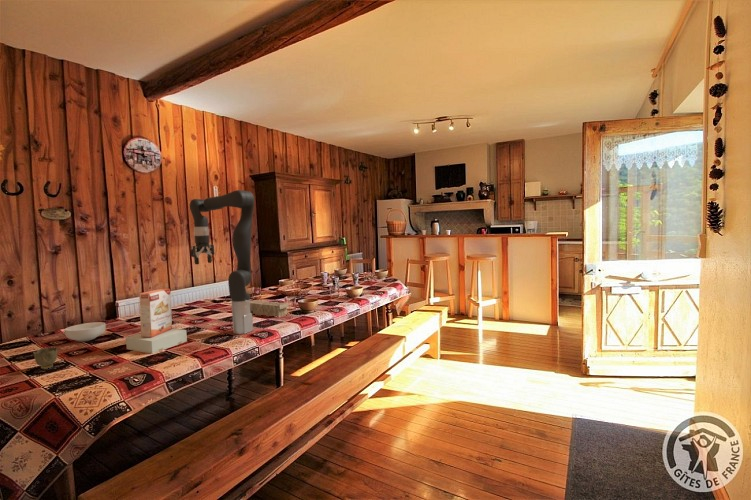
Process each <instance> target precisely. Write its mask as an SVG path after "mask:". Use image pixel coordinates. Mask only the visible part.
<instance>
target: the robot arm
mask: <svg viewBox="0 0 751 500" xmlns="http://www.w3.org/2000/svg"><path fill="white" fill-rule="evenodd" d="M225 207H232V208H238V209H241V210H240V219H239V220H238V222H237V223H236V226H235V228H234V229H233V231H232V248H233V251H234V253H235V257H236V260H237V266H236V270H234V271H232V272H231V273H230V274H229V275H228V278H227V281H228V283H227V284H228V290H229V291H228V292H229V296H230V299H231V313H232V314H231V316H232V331H233V334H235V335H241V334H247V333H250V332H253V331H254V323H253V314H252V313H251V311H250V301H251V298H250V297H251V296H250V294H249V293H248V292H247V290H246V286H248V285H249V284H251V281H252V266H251V258H252V257H251V256H252V255H251V254H252V253H251V252H252V250H251V249H252V248H251V247H252V229H253V228H252V226H253V223H252V222H253V216H254V215H253V214H254V208H255V196H254V194H253V193H252V192H251V191H248V190H241V189H236V190H234V191H230V192H228V193H225V194H223V195H217V196H212V197H207V198H204V199H203V198H201V199H200V198H194V199H191V200H190V202H189V210H190V212H191V213H190V214H191V216H192V218H193V226H194V229H193V233H194V235H193V237H194V244H195V245H190V257H192V258H194V259H193V260H194V264H195V265H199V264H200V258H199V256H200V255H201V254H204V253H205V255H207V257H206V258H207V263H208V264H211V263H212V261H213V259H212V257H213V256H214V255H216V254H215V245H214V244H210V230H209V221H208V220H209V219H208V217H207V216H205V215H202V213H207V212H211V211H216V210H217V211H218V210H221V209H224V208H225Z"/></svg>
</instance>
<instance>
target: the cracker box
mask: <svg viewBox="0 0 751 500" xmlns="http://www.w3.org/2000/svg"><path fill="white" fill-rule="evenodd" d="M171 294H172V293H171V288H157V289H154V290H149V291H144V292H140V293H139V294H138V297H139V314H140V316H139V317H140V319H139V320H140V333H141V337H154V336H156V335H158V334H161V333H163V332H166V331H168V330H171V329H172V328H173V324H172V323H173V322H172V321H173V320H172V295H171Z"/></svg>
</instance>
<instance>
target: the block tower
mask: <svg viewBox="0 0 751 500" xmlns="http://www.w3.org/2000/svg"><path fill="white" fill-rule="evenodd" d="M288 308H289V303H288V302H278V301H271V302H269V301H267V300H266V301H263V300H256V299H254V300H250V311H251V313H252V315H253V314H255V316H261V315H266V316H265V317H269V316H277V317H276V318H278V317H279V316H282V315H284V316H286V315H285V314H287V315H288ZM282 317H283V316H282ZM279 318H280V317H279Z"/></svg>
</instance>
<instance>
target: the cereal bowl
mask: <svg viewBox="0 0 751 500" xmlns="http://www.w3.org/2000/svg"><path fill="white" fill-rule="evenodd" d="M106 328H107V325H106V322H99V321H96V322H95V321H94V322H87V323H86V322H85V323H80V324H76V325H72V326H68V327H66V328H64V335H65V337H66V338H68V340H73V341H76V342H79V343H80V342H88V341H92V340H95V339H96V338H97V337H99V336H102V334H104V333H105V331H106Z"/></svg>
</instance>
